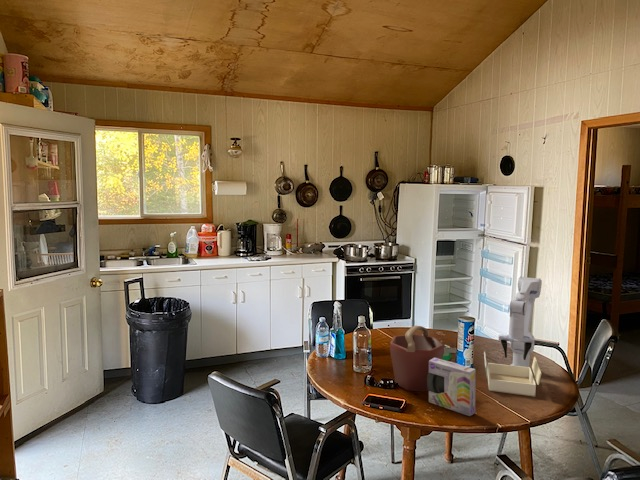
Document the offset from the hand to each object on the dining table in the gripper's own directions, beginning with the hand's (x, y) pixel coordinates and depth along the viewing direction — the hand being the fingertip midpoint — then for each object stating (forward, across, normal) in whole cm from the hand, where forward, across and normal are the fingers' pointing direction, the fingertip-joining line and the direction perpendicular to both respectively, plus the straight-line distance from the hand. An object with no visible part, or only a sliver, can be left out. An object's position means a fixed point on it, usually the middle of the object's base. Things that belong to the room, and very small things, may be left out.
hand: (515, 358), depth 217 cm
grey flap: (+3, -12, -5) cm, 13 cm away
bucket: (+11, -42, -16) cm, 46 cm away
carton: (+10, -2, -4) cm, 12 cm away
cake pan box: (+11, -26, -36) cm, 45 cm away
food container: (+11, -31, +10) cm, 34 cm away
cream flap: (+3, +8, -5) cm, 10 cm away
